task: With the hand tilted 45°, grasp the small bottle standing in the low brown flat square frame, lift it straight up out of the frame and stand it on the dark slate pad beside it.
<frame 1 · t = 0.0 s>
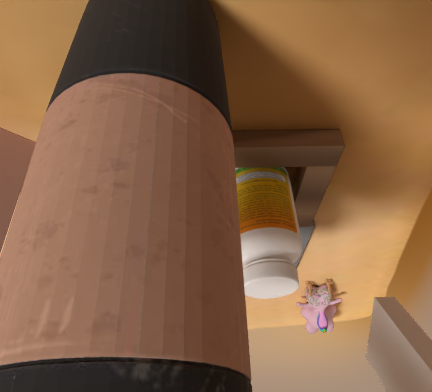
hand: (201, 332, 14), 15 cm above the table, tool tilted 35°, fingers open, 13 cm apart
travel mug: (153, 31, 21), on the table
supplement bottle: (255, 175, 32), resting in brown flat square frame
pink patterned figure: (316, 296, 56), on the table
brown flat square frame: (256, 178, 31), on the table
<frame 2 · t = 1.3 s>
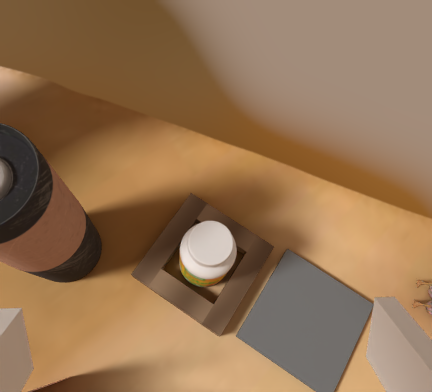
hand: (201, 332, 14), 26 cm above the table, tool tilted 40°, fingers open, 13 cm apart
travel mug: (68, 249, 41), on the table
supplement bottle: (203, 263, 42), resting in brown flat square frame
brown flat square frame: (203, 262, 42), on the table
slate pad: (305, 320, 41), on the table
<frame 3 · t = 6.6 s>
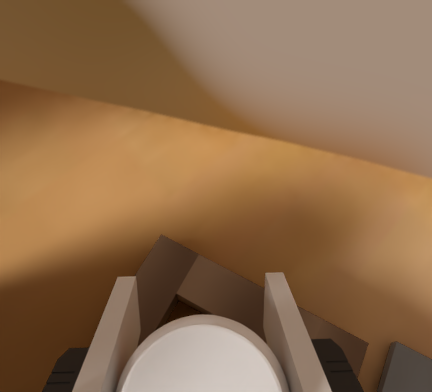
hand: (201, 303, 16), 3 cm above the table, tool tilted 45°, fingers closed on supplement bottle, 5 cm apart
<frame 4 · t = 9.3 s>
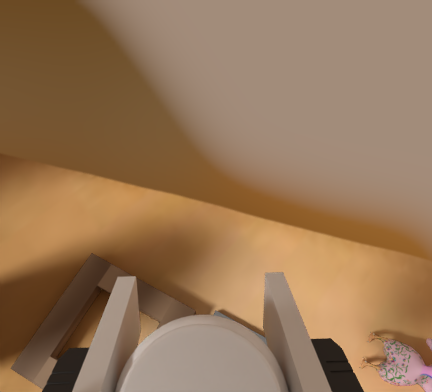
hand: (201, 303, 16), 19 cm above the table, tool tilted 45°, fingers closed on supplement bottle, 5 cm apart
brown flat square frame: (110, 340, 33), on the table
when the fingers open (5 cm above the table, at t = 12.4 s): supplement bottle drops 1 cm, resting on slate pad.
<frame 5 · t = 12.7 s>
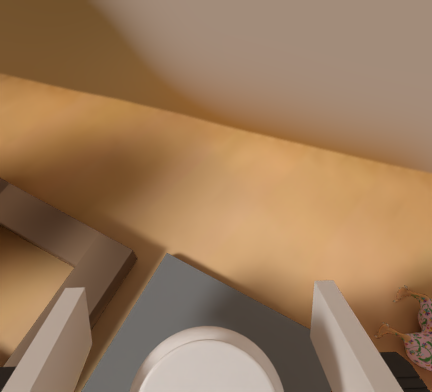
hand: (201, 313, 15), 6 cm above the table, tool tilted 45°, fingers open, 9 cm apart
brown flat square frame: (0, 296, 21), on the table
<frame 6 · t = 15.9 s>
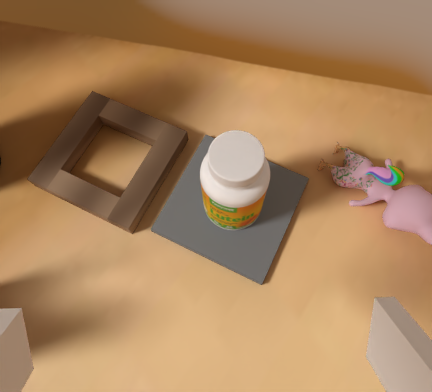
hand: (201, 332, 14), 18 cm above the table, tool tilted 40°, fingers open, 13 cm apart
supplement bottle: (232, 204, 35), resting on slate pad
pink patterned figure: (387, 208, 36), on the table
brown flat square frame: (113, 162, 37), on the table
slate pad: (231, 205, 36), on the table
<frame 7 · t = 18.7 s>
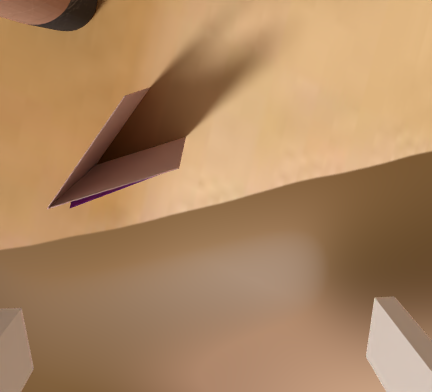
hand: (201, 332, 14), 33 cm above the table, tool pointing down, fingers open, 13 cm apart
greeting card: (131, 128, 44), on the table
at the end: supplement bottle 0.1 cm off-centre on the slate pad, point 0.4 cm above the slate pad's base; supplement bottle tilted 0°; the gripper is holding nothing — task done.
